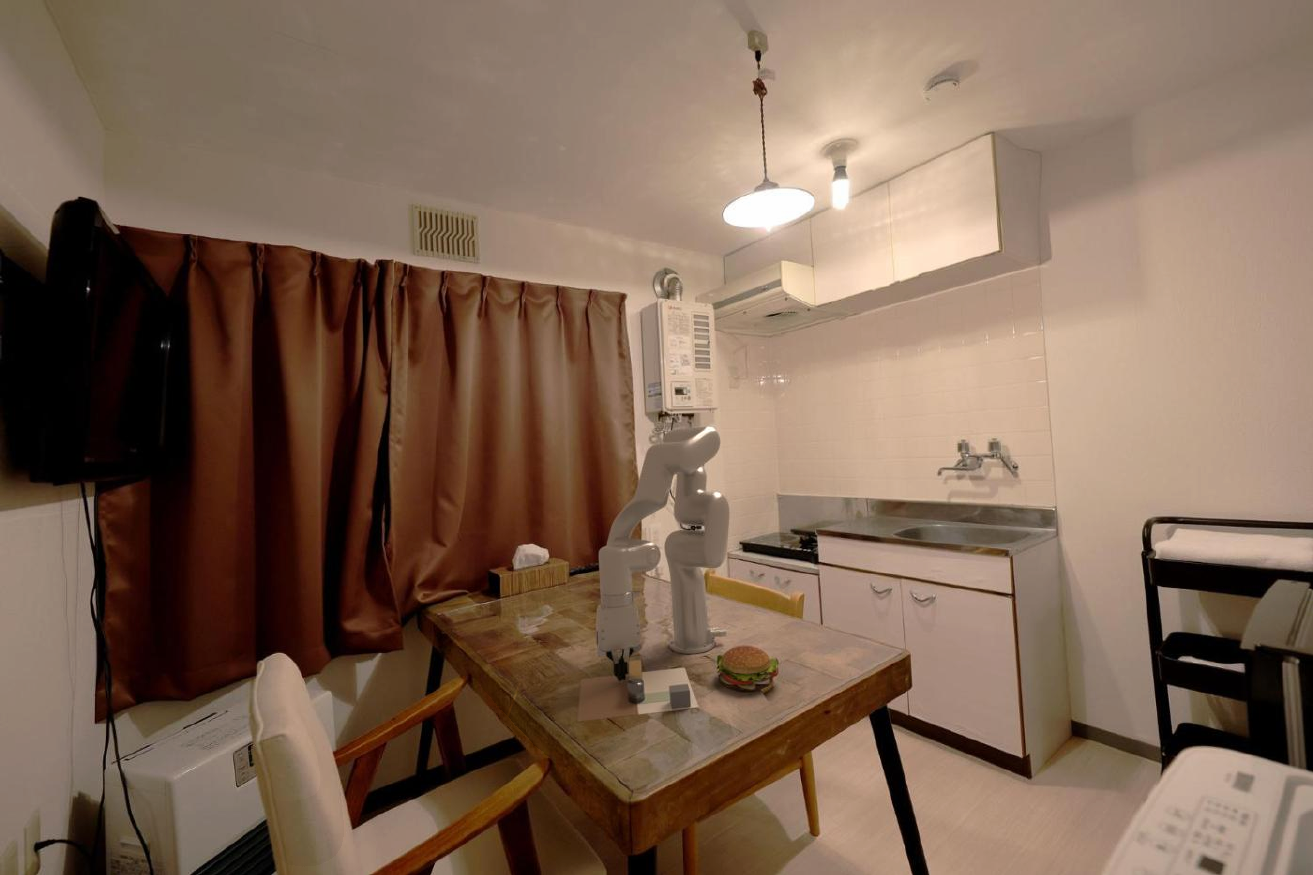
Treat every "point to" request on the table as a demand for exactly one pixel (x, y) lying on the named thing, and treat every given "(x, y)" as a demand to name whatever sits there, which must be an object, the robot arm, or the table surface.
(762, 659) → the food
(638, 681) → the bar
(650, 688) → the door panel
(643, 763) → the table surface
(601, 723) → the table surface
